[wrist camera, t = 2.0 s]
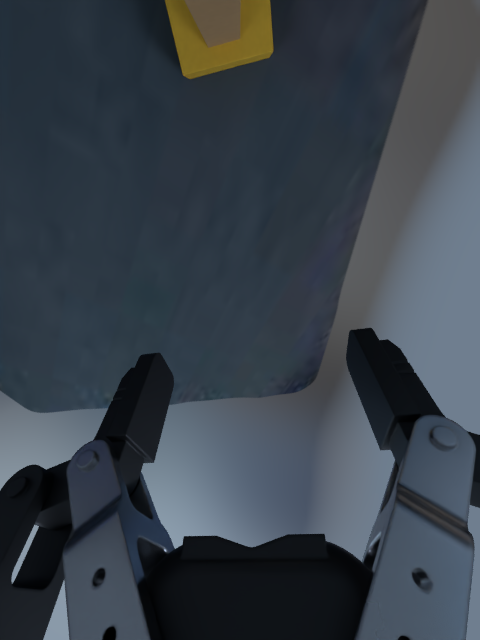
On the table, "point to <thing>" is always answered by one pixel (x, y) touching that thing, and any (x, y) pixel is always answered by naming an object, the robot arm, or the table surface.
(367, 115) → the table surface
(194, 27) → the peg stand
